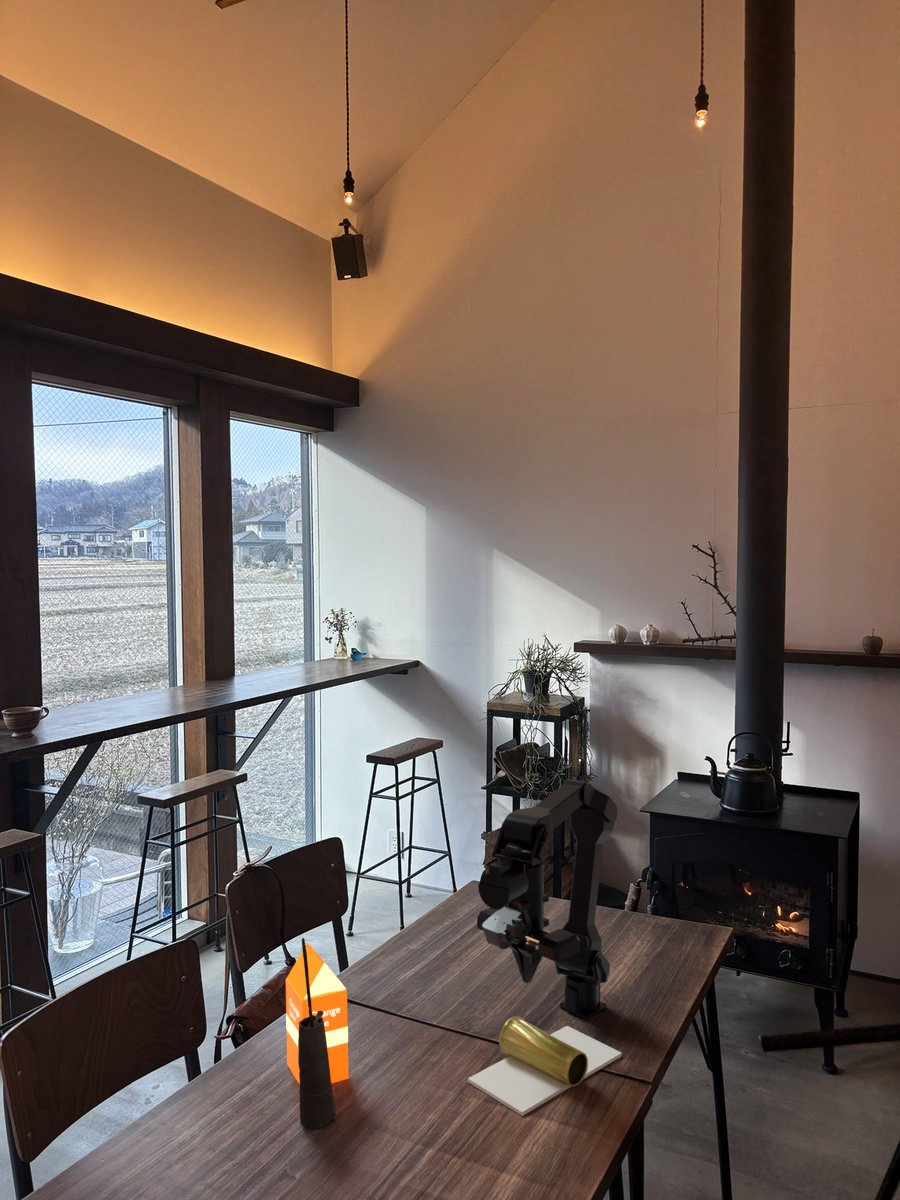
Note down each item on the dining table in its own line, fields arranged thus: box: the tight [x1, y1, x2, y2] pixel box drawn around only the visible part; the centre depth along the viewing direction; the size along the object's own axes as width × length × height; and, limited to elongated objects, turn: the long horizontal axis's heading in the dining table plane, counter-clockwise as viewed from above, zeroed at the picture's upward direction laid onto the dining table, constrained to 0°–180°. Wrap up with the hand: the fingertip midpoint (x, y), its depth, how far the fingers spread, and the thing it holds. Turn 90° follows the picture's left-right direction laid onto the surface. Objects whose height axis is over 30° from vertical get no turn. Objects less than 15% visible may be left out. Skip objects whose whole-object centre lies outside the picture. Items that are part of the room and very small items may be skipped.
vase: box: [498, 1015, 588, 1088], centre depth 145 cm, size 6×6×14 cm
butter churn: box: [298, 937, 336, 1130], centre depth 134 cm, size 9×10×28 cm
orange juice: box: [285, 942, 349, 1085], centre depth 145 cm, size 8×9×20 cm
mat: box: [467, 1025, 623, 1117], centre depth 145 cm, size 24×12×1 cm, turn 132°
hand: (527, 981), depth 148 cm, fingers closed
